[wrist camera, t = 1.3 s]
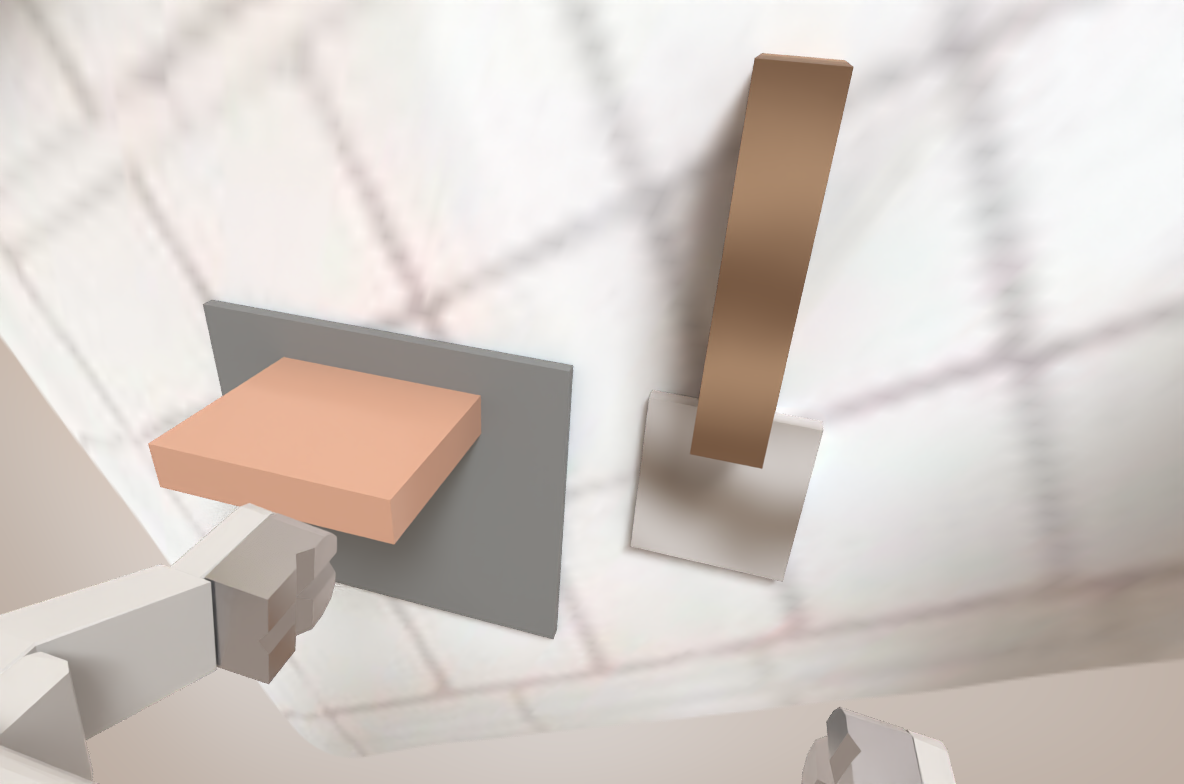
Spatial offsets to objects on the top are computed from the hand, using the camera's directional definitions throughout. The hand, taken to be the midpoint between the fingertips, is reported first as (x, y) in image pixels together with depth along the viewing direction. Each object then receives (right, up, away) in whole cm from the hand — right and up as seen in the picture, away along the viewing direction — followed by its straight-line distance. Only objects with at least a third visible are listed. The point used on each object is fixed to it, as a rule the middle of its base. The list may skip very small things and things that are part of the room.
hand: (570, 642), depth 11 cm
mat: (-10, 0, +24) cm, 26 cm away
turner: (+6, +6, +17) cm, 19 cm away
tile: (-9, +4, +22) cm, 24 cm away
